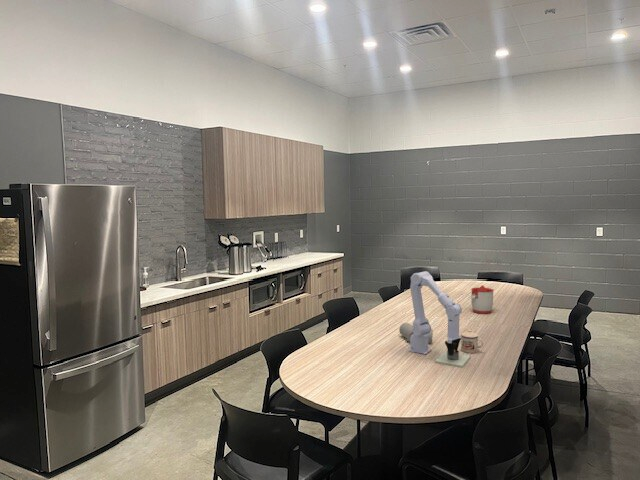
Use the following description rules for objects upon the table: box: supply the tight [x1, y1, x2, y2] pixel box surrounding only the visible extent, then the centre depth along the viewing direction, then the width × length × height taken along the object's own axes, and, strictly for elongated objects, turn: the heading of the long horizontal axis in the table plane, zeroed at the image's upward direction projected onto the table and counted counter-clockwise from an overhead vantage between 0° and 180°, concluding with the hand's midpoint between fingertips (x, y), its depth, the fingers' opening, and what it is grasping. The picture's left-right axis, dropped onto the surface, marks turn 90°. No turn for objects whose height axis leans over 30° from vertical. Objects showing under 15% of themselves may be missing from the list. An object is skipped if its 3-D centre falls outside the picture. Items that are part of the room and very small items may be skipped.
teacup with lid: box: [460, 329, 485, 354], centre depth 261 cm, size 12×9×12 cm
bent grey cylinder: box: [399, 322, 434, 344], centre depth 282 cm, size 18×11×20 cm
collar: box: [446, 349, 460, 360], centre depth 246 cm, size 6×6×4 cm
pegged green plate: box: [434, 350, 471, 368], centre depth 246 cm, size 14×16×6 cm
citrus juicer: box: [470, 285, 494, 315], centre depth 345 cm, size 16×17×20 cm
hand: (453, 353), depth 246 cm, fingers open, 7 cm apart
